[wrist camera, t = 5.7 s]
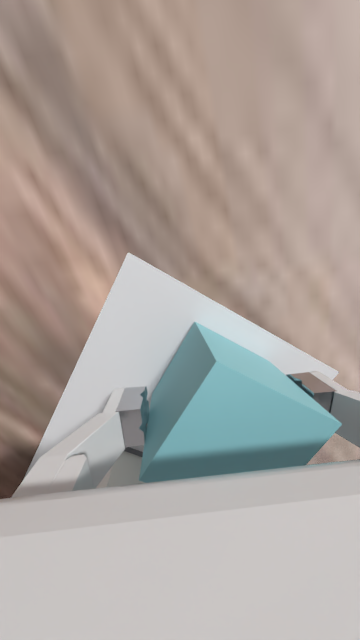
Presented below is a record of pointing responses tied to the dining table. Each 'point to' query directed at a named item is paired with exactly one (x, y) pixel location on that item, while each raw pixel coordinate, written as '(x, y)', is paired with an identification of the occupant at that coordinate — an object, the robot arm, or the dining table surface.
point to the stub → (228, 414)
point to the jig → (151, 352)
